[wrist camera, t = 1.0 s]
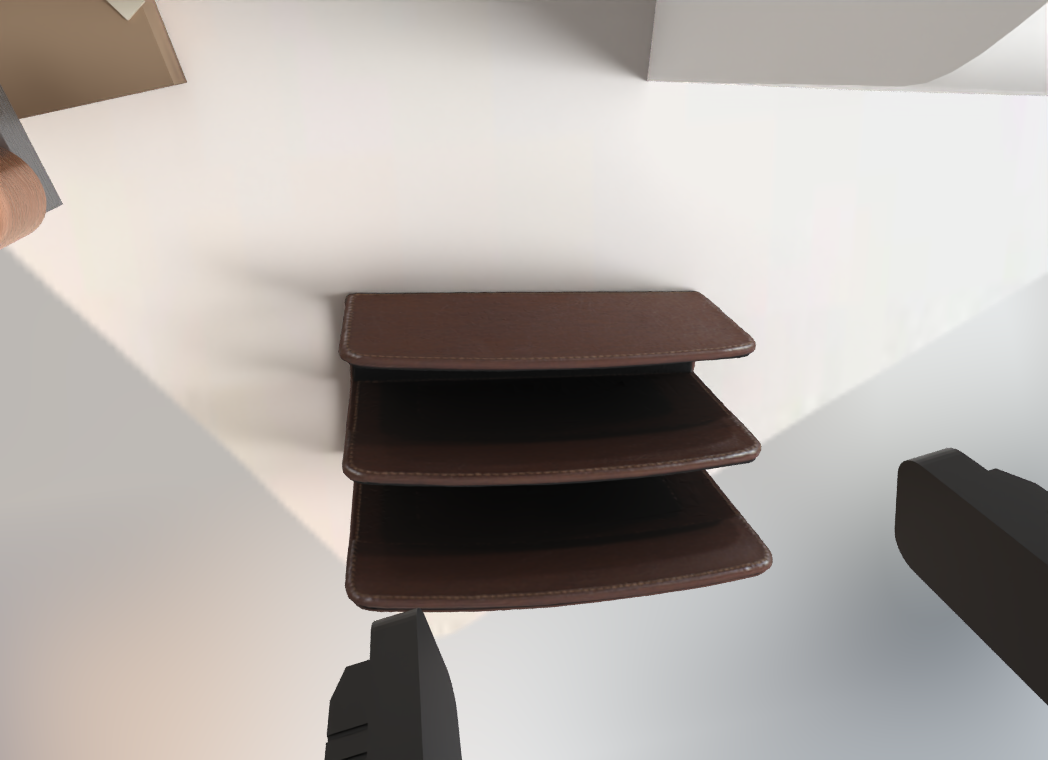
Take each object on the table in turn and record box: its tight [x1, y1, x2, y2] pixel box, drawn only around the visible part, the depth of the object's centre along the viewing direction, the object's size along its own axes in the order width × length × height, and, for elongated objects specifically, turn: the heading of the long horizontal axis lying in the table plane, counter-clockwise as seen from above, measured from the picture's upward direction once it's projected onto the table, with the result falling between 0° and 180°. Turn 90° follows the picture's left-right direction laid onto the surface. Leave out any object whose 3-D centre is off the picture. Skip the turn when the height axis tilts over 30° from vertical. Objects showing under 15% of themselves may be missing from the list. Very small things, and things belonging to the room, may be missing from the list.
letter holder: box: [339, 291, 772, 612], centre depth 33 cm, size 10×20×14 cm, turn 87°
